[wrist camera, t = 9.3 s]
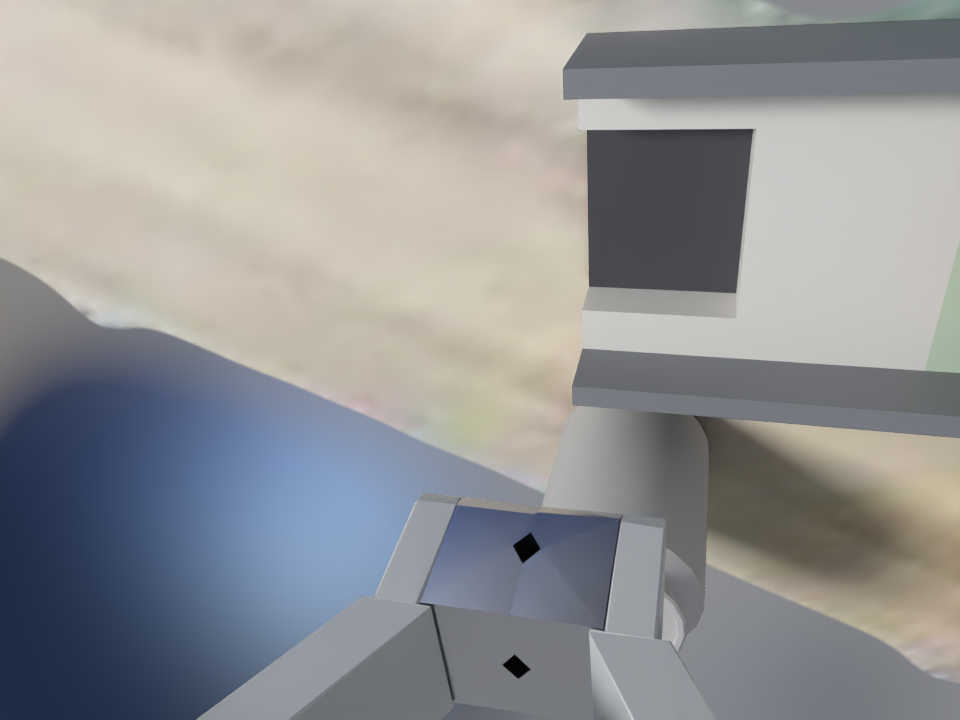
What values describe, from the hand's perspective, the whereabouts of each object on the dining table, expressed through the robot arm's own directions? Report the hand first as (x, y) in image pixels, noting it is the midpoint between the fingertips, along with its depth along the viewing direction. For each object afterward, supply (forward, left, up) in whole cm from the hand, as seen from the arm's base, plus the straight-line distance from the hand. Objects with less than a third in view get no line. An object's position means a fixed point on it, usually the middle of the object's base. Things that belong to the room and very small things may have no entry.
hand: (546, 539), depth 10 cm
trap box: (+6, +11, -26) cm, 28 cm away
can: (+19, -1, -26) cm, 32 cm away
